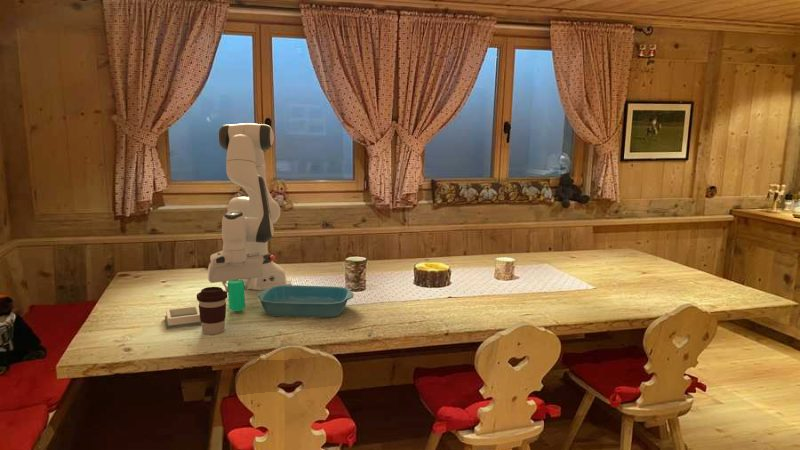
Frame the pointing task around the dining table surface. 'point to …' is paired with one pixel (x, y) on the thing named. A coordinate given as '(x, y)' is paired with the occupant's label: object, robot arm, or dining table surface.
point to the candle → (236, 295)
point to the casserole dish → (304, 300)
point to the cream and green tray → (182, 317)
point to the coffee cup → (212, 309)
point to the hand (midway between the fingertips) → (237, 290)
